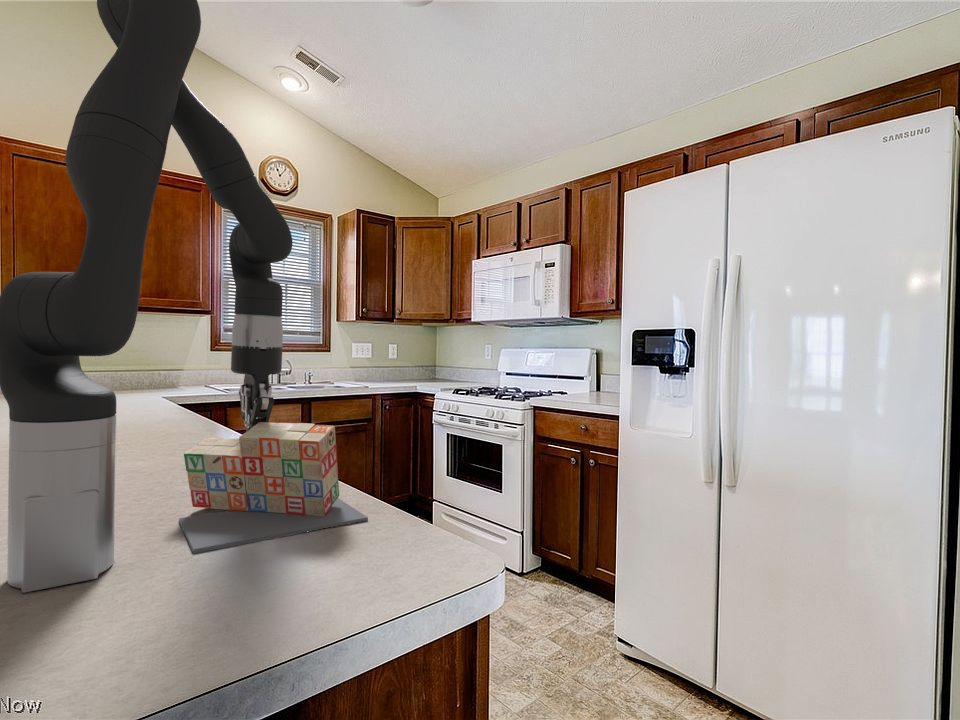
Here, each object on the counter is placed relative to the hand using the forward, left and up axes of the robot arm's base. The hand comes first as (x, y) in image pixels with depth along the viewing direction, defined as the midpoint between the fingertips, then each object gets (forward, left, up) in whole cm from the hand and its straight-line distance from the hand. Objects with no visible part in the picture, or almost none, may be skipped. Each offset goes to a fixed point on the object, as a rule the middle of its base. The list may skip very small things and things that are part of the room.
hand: (253, 449), depth 84 cm
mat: (-11, -1, -9) cm, 14 cm away
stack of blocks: (-5, -1, -8) cm, 9 cm away
